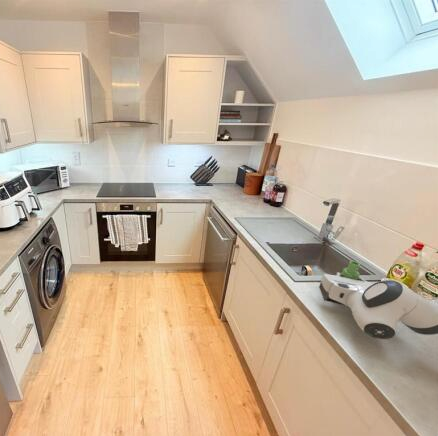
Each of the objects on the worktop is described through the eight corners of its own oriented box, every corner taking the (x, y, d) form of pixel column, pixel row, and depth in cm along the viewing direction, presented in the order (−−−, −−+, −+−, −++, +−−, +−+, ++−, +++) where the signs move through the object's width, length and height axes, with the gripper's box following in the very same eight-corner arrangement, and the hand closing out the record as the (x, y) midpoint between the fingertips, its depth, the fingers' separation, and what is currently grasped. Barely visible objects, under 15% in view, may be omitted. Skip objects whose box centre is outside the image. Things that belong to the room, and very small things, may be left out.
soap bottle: (346, 294, 100) (360, 261, 94) (350, 302, 96) (365, 268, 89) (331, 291, 102) (344, 258, 96) (334, 299, 98) (349, 265, 91)
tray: (354, 294, 102) (356, 290, 101) (364, 312, 93) (366, 307, 92) (319, 286, 107) (320, 282, 106) (325, 302, 97) (326, 298, 96)
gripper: (402, 299, 79) (384, 276, 91) (329, 283, 87) (321, 263, 98) (394, 313, 82) (377, 288, 93) (324, 296, 89) (317, 276, 101)
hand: (348, 275), depth 96 cm, fingers closed on soap bottle, 5 cm apart
